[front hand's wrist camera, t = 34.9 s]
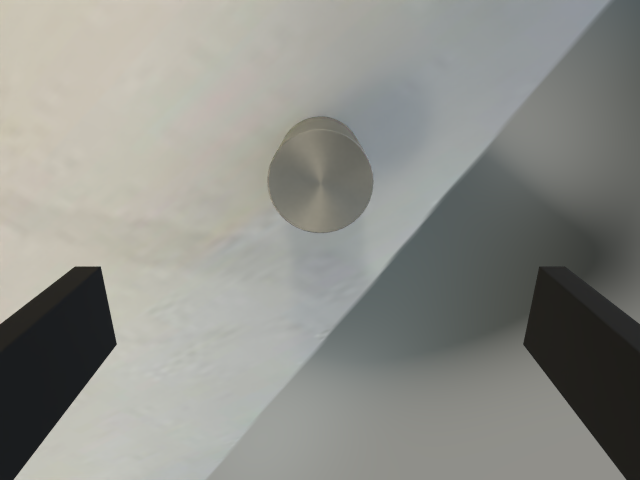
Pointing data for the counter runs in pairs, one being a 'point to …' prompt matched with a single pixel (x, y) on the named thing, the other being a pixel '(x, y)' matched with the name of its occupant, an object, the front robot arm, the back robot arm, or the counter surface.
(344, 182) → the can
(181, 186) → the counter surface
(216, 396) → the counter surface
